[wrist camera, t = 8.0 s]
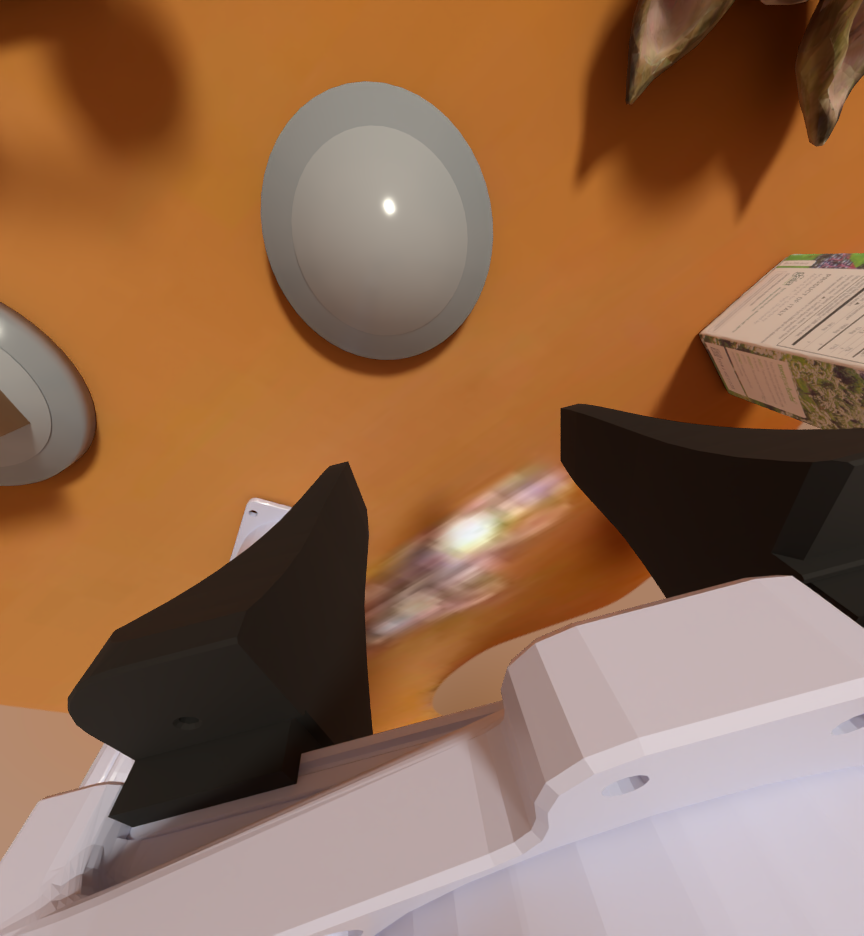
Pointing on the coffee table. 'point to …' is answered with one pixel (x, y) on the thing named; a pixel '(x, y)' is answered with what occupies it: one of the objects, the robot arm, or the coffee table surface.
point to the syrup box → (797, 341)
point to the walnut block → (10, 416)
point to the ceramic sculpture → (817, 64)
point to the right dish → (376, 220)
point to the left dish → (40, 404)
